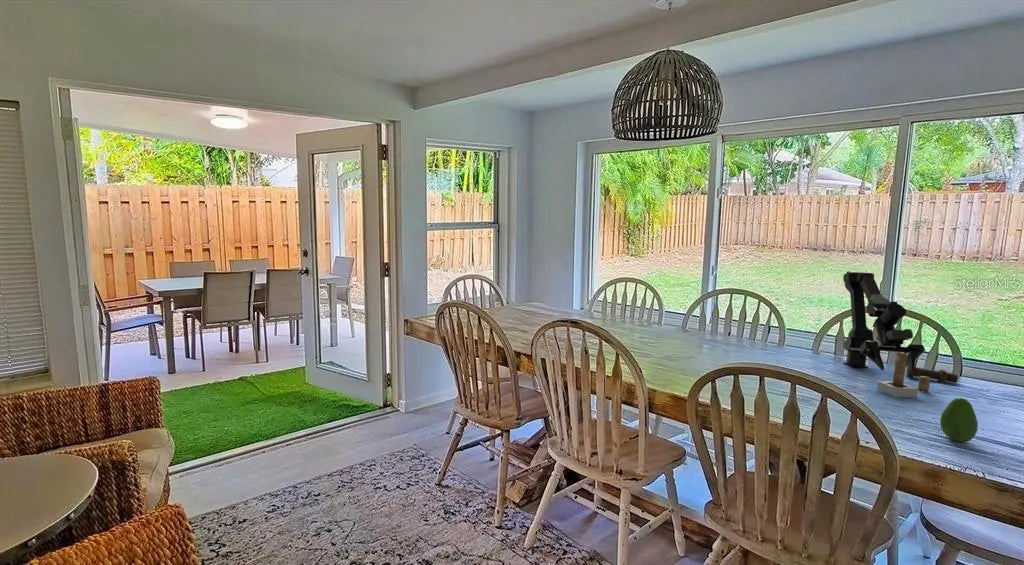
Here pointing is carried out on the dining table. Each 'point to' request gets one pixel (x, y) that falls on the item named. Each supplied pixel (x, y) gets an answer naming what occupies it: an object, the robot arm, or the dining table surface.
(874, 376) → the dining table surface
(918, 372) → the bolt
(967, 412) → the avocado
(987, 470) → the dining table surface
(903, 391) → the hole block
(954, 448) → the dining table surface
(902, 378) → the long dowel
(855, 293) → the robot arm
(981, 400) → the dining table surface
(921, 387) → the short dowel
